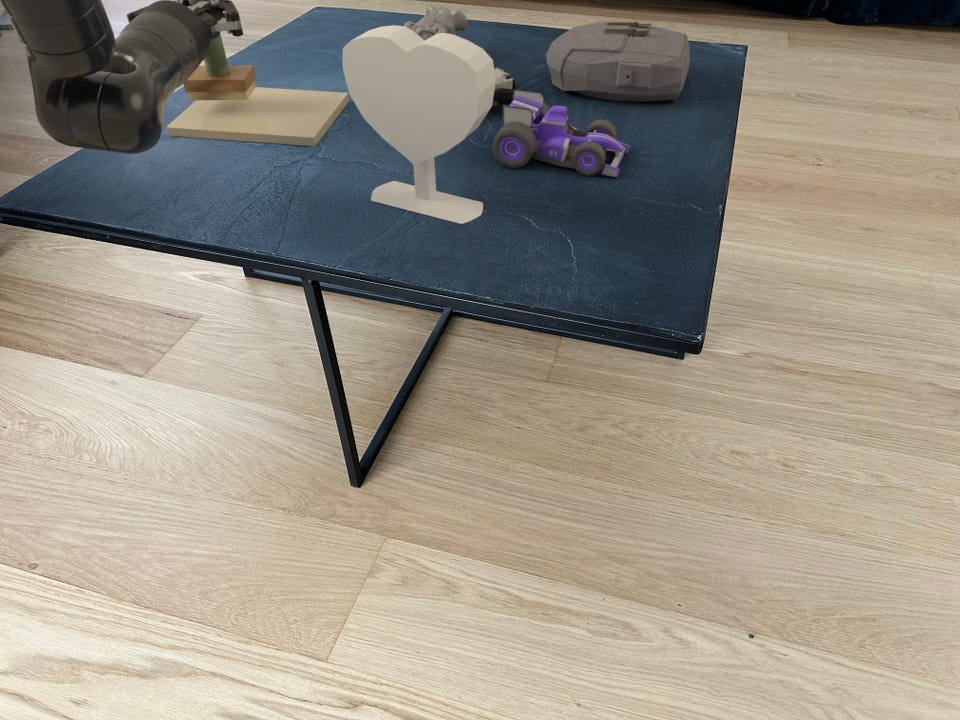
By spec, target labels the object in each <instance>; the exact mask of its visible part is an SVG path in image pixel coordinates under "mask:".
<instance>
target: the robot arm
mask: <svg viewBox="0 0 960 720" xmlns="http://www.w3.org/2000/svg"><path fill="white" fill-rule="evenodd" d="M0 5H1V7H2V9H3V11H4V13H5V14H6V17H7V18H8V20H9V22H10V25H11V26H12V28H13V30H14V32H15V34H16V36H17V38H18V40H19V42H20V44H21V45H22V47H23V51H24V55H25V59H26V65H27V70H28V74H29V79H30V86H31V90H32V101H33V108H34V113H35V117H36V120H37V122H38V124H39V126H40V127H41V128H42V130H43V131H44V132H45V134H47V135H48V136H49V137H50V138H52V139H53V140H54V141H56V142H57V143H59V144H62V145H64V146H68V147H72V148H80V149H88V150H94V151H95V150H96V151H105V152H112V153H119V154H128V155H137V154H142V153H144V152H147V151H149V150H151V149H152V148H154V147H155V146H156V145H157V144H158V143H159V141H160V140H161V136H162V133H163V132H162V131H163V122H164V112H165V108H166V104H167V100H169V98H170V97H171V96H172V94H174V93H175V91H176V90H177V89H179V88H180V87H181V86H184V85H183V84H184V83H185V82H186V81H187V79H188V78H189V77H190V76H191V75H192V73H193V72H194V71H195V70H196V68H197V67H198V66H201V64H202V62H204V59H205V57H206V55H207V52H208V49H209V44H210V41H211V40H213V39H215V38H217V37H218V36H219V34H220V33H221V32H227V34H228V35H232V36H233V37H238V38H240V37H242V36H243V35H244V30H243V25H242V22H241V17H240V16H241V15H240V12H239V11H238V9H237V7H236V5H235V4H234V2H233V1H232V0H209V1H207V2H206V1H199V2H198V3H196V4H195V5H193V6H190V5H189V1H188V0H157V1H154V2H152V3H150V4H149V5H146V6H144V7H142V8H139V9H137V10H134V11H131V12H129V13H127V14H126V17H127V20H128V21H127V22H128V23H127V24H126V25H125V26H124V27H123V29H122V30H121V31H120V33H119V35H118V36H117V37H116V38H115V34H114V30H113V27H112V24H111V22H110V19H109V17H108V14H107V11H106V9H105V6H104V4H103V1H102V0H0Z"/></svg>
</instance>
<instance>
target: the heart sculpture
mask: <svg viewBox="0 0 960 720" xmlns="http://www.w3.org/2000/svg"><path fill="white" fill-rule="evenodd" d="M411 29H412V28H411ZM411 29H409V28H407V27H404V25H396V24H393V25H384V26H382V25H381V26H379V27H376V28H371V29H369V30H367V31H365V32H364V33H361V35H358V36H357V37H355V38H353V39H351V40H350V41H348V42H347V44H345V45H344V46H343V47H342V71H343V75H344V79H345V83H346V87H347V90H348V95H349V97H350V98H351V100H352V101H353V102H354V104H355V106H356V108H357V110H358V111H359V112H360V114H361V116H362V118H363V119H364V120H365V121H366V122H367V124H368V125H369V126H370V127H371V128H372V129H373V130H374V131H375V132H376V133H377V135H379V136H380V137H381V139H383V141H385V142H386V143H387V144H389V145H390V146H391V147H393V149H395V150H396V152H398V153H400V155H402V156H403V157H404V158H406V159H407V160H408V161H409V162H410V163H411V164H412V169H413V181H414V185H413V184H409V183H405V182H400V181H397V180H392V181H389V182H386V183H384V184H381V185H378V186H377V187H375V188H374V189H373V190H372V192H371V195H370V201H371V202H374V203H378V204H383V205H387V206H390V207H394V208H398V209H402V210H405V211H410V212H414V213H417V214H421V215H425V216H429V217H431V218H436V219H440V220H443V221H444V220H445V221H448V222H452V223H456V224H460V225H463V224H466V223H469V222H471V221H473V220H475V219H477V218H479V217H480V216H482V214H483V211H484V202H483V201H479V200H475V199H470V198H467V197H463V196H458V195H454V194H450V193H446V192H442V191H438V190H437V183H436V163H435V157H438V156H440V155H443V154H446V153H447V152H449V151H450V150H451V149H452V148H454V147H455V146H457V145H459V144H460V143H461V142H463V141H464V140H465V139H467V137H469V136H470V135H471V134H473V133H474V132H475V131H476V130H477V129H478V128H479V127H480V125H481V124H482V122H483V121H484V119H486V116H488V115H487V114H488V113H489V112H490V110H491V108H492V107H493V106H492V103H493V96H494V90H495V83H496V79H495V72H494V67H495V66H494V60H493V58H492V57H491V56H490V55H489V54H488V53H487V51H486V50H485V49H484V48H482V47H481V46H479V45H477V44H475V43H473V42H472V41H470V40H468V39H466V38H463V37H460V36H458V35H457V34H456V35H452V34H447V33H439V34H435V35H434V36H432V37H430V38H429V39H427V40H425V41H424V40H423V39H422V38H421V37H420V36H419V35H417V34H416V33H415V32H414V31H412V30H411Z"/></svg>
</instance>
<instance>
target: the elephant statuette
mask: <svg viewBox="0 0 960 720" xmlns="http://www.w3.org/2000/svg"><path fill="white" fill-rule="evenodd" d="M403 26H404V27H407V28H409V29H411V30H412V31H414V32H415V33H416V34H417V35H419V36H420V37H421V38H422V39H423V40H424V41H425V40H427V39H429V38H430V37H432V36H434V35H435V34H439V33H447V34H452V35H456V36H457V32H465V31H466V29H467V27H468V18H467V16H466V13H464V11H462V10H460V9H454V10H451V9H449V8H446V7H445V8H444V7H435V6H433V5H431V4H428V5H427V6H426V10H425V15H424V16H422V17H421V19H419V20H418V21H417V22H413V21H411V20H408V21H406V22H405V23H404V25H403ZM456 31H457V32H456Z"/></svg>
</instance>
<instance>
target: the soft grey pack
mask: <svg viewBox="0 0 960 720" xmlns="http://www.w3.org/2000/svg"><path fill="white" fill-rule="evenodd" d="M652 25H653V23H652V22H650V23H640V22H637V21H634V22H632V21H597V22H593V23H586V24H582V25H577V26H573V27H571V28H570V29H568V30H567V31H565V32H564V33H562V34H561V35H559V36H558V37H556V39H554V40H553V41H551V44H550V46H549V48H548V50H547V52H546V54H545V58H546V65H547V67H548V71H549V74H550V77H551V84H552V85H553V86H555V87H556V88H558V89H560V90H561V91H562V92H572V93H576V94H578V95H582V96H585V97H588V98H594V99H602V100H605V101H611V102H612V101H615V102H640V103H641V102H643V103H646V102H647V103H648V102H659V101H675V100H677V99H678V98H679V96H680V94H681V92H682V90H683V89H684V86H685V83H686V79H687V76H688V72H689V68H690V58H691V51H690V50H691V49H690V42H689V38H688V35H687V34H686V33H684V32H679V31H676V30H671V29H667V28H664V27H660V26H654V25H653V26H652Z"/></svg>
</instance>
